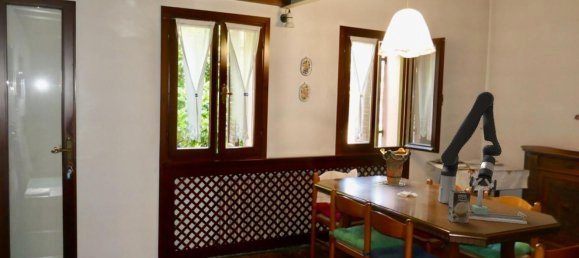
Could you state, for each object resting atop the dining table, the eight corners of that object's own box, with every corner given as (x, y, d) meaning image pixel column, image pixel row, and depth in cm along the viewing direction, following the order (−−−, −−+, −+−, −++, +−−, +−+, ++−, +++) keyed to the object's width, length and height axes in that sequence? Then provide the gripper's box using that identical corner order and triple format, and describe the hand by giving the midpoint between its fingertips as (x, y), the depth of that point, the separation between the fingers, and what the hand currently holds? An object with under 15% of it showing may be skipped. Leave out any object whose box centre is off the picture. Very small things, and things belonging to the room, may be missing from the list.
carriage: (474, 213, 247) (476, 189, 246) (471, 210, 254) (473, 187, 253) (487, 214, 246) (489, 190, 245) (484, 211, 252) (486, 188, 251)
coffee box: (451, 222, 236) (454, 192, 235) (447, 218, 242) (449, 189, 241) (468, 222, 236) (471, 193, 235) (463, 219, 243) (465, 190, 242)
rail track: (468, 218, 245) (469, 211, 245) (463, 213, 257) (464, 206, 256) (526, 224, 240) (527, 216, 240) (519, 218, 252) (519, 211, 252)
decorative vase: (371, 181, 344) (375, 145, 342) (394, 181, 355) (398, 146, 353) (389, 186, 325) (394, 148, 324) (413, 186, 336) (417, 149, 335)
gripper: (472, 165, 262) (466, 187, 254) (499, 169, 254) (493, 192, 246) (474, 173, 267) (467, 195, 259) (499, 177, 259) (494, 199, 251)
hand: (480, 193), depth 252 cm, fingers open, 8 cm apart
